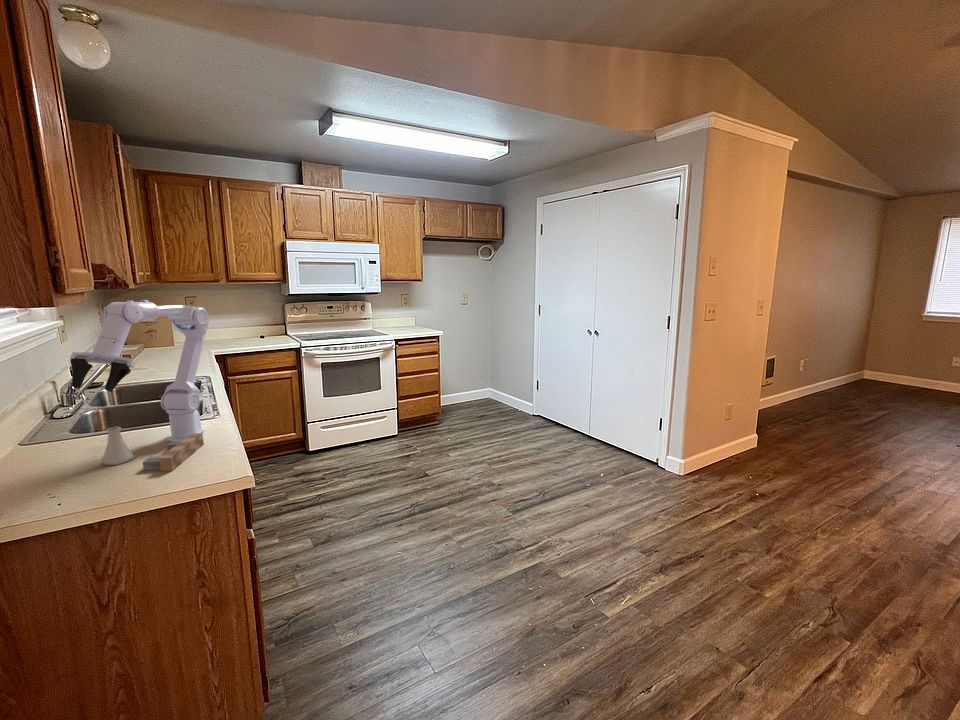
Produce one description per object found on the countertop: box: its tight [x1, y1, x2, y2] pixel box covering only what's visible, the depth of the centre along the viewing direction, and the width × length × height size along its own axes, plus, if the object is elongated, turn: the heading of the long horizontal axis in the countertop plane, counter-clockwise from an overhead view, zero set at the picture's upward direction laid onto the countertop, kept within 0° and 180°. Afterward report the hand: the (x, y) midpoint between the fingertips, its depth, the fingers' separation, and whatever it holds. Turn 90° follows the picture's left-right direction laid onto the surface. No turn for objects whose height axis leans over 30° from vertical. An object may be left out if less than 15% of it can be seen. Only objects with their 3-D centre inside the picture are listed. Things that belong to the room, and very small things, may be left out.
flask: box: [101, 426, 135, 466], centre depth 129 cm, size 7×7×10 cm
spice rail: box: [142, 432, 205, 473], centre depth 133 cm, size 20×8×4 cm, turn 10°
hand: (91, 389), depth 116 cm, fingers open, 7 cm apart
